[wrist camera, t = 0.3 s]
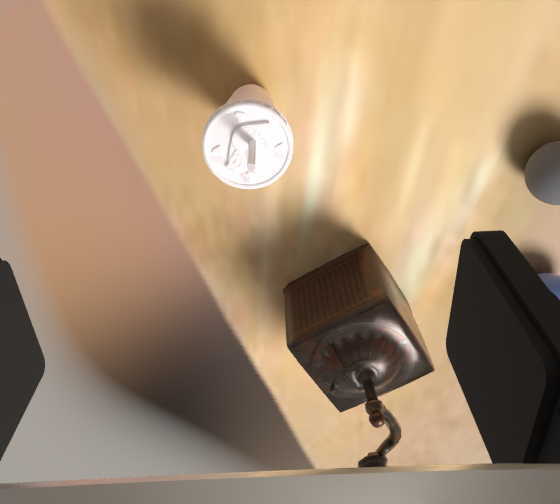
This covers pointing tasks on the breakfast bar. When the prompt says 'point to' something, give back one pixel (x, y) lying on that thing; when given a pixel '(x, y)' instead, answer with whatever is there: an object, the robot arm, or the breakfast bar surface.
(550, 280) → the object ball
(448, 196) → the breakfast bar surface
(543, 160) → the gray ball
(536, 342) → the robot arm
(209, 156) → the smoothie
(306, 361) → the brown coffee grinder
